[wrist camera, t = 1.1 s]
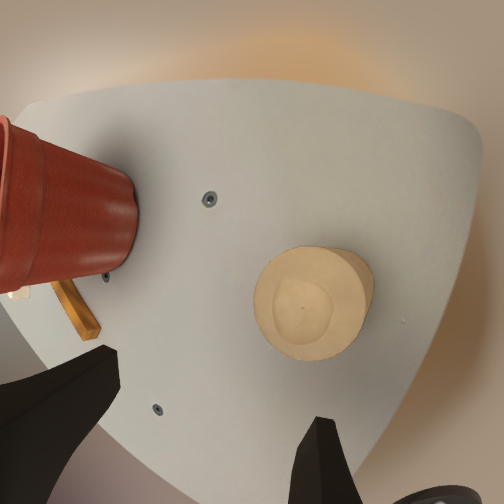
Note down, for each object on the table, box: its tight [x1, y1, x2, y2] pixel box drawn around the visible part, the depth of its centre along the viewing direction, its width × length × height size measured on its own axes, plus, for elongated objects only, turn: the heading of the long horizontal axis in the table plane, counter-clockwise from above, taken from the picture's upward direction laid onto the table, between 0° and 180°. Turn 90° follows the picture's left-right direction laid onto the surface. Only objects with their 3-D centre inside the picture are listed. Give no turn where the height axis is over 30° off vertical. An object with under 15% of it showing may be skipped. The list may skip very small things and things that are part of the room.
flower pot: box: [0, 115, 138, 294], centre depth 25 cm, size 16×16×16 cm
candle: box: [254, 246, 374, 361], centre depth 17 cm, size 6×6×10 cm
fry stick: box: [50, 279, 101, 341], centre depth 35 cm, size 14×2×2 cm, turn 51°
